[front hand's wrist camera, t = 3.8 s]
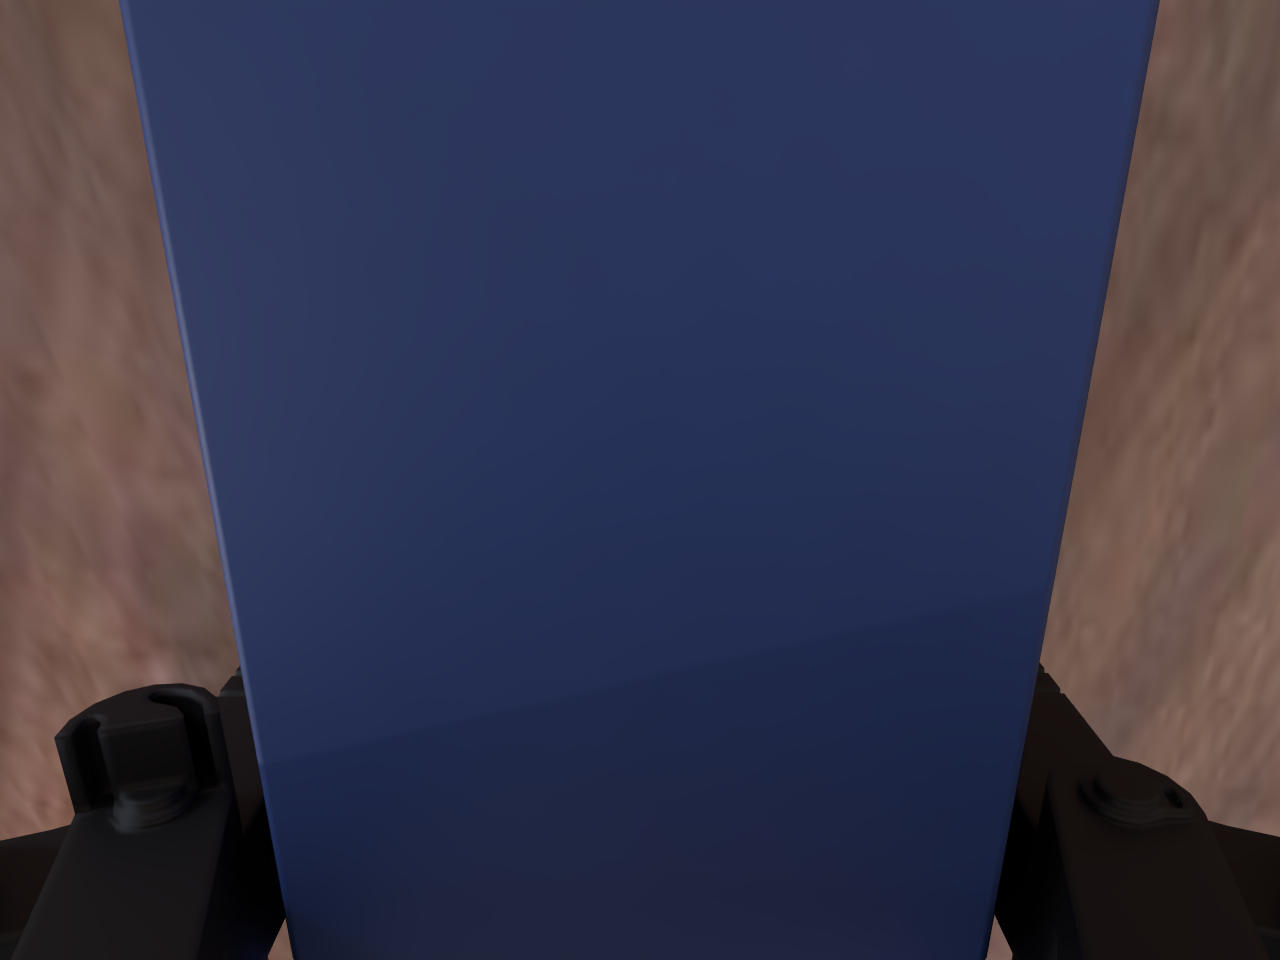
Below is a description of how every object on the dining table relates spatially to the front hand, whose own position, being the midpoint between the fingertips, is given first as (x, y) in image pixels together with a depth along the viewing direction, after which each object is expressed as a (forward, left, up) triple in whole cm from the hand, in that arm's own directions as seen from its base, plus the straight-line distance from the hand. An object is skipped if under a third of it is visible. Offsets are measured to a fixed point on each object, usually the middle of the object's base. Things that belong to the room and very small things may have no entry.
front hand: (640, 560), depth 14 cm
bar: (+7, +2, -1) cm, 8 cm away
